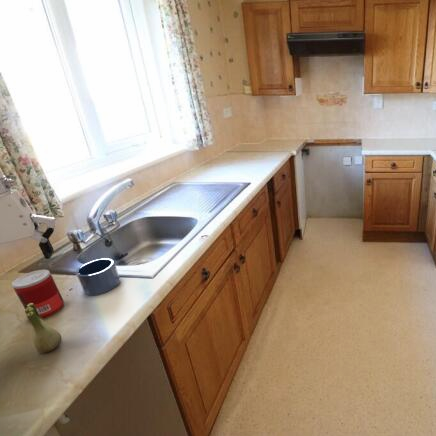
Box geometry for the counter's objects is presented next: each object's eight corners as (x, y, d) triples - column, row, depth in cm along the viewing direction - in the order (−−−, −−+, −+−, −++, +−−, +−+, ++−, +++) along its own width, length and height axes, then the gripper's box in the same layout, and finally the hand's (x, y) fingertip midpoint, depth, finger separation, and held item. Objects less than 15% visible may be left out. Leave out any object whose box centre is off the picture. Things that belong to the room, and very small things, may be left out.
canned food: (71, 301, 94) (56, 270, 89) (45, 320, 87) (27, 287, 82) (49, 299, 95) (33, 268, 91) (22, 318, 88) (3, 285, 84)
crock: (82, 299, 95) (73, 279, 92) (86, 282, 102) (78, 264, 99) (119, 288, 99) (112, 269, 96) (121, 273, 106) (114, 255, 103)
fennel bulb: (46, 340, 80) (25, 302, 75) (68, 336, 81) (49, 298, 76) (33, 358, 75) (9, 318, 70) (57, 353, 76) (35, 314, 71)
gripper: (42, 176, 70) (72, 244, 78) (-68, 193, 63) (-24, 266, 70) (34, 185, 64) (67, 258, 72) (-90, 205, 57) (-39, 284, 64)
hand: (22, 262), depth 71 cm, fingers open, 9 cm apart
